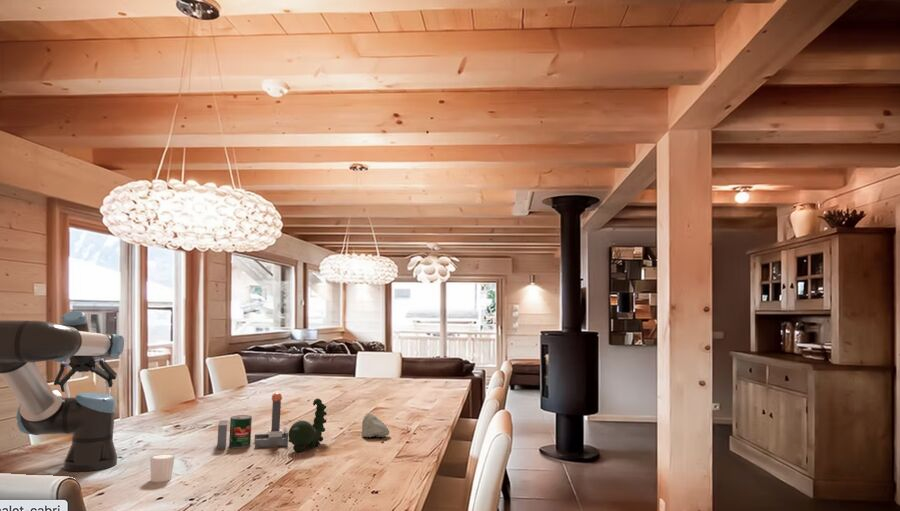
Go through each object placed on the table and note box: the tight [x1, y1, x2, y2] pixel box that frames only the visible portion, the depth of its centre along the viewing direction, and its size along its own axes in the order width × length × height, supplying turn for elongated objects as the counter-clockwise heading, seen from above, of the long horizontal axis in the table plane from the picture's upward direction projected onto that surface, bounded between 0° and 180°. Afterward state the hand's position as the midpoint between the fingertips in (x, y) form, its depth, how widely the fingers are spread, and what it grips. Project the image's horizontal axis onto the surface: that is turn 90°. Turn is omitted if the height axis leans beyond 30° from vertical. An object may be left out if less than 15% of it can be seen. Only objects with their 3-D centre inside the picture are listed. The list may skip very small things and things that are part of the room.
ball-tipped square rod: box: [267, 392, 283, 439], centre depth 230 cm, size 7×5×20 cm
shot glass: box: [149, 453, 175, 483], centre depth 179 cm, size 7×7×7 cm
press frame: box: [216, 419, 289, 451], centre depth 227 cm, size 11×26×9 cm, turn 109°
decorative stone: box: [361, 413, 390, 438], centre depth 246 cm, size 13×11×10 cm
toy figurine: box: [288, 397, 328, 453], centre depth 224 cm, size 9×19×25 cm
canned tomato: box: [228, 414, 253, 449], centre depth 225 cm, size 8×8×11 cm
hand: (89, 395), depth 222 cm, fingers open, 13 cm apart
